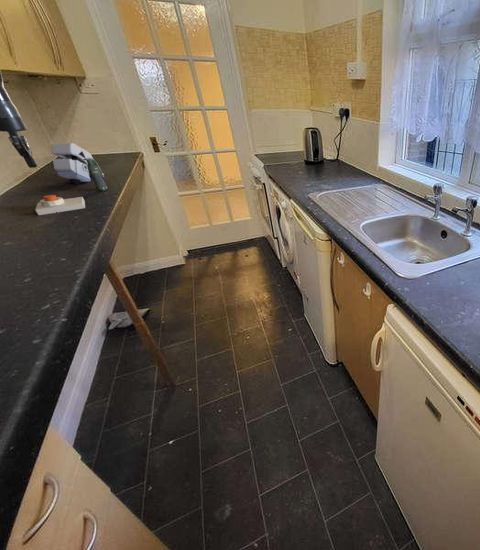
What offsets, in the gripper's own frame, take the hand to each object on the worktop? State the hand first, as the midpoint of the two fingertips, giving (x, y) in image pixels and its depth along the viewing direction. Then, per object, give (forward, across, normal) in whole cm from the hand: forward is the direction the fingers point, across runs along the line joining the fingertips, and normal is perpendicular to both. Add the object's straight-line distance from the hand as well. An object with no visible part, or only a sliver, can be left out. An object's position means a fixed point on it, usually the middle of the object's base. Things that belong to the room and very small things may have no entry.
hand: (33, 167), depth 112 cm
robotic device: (+17, -50, +9) cm, 53 cm away
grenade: (+17, -22, +16) cm, 32 cm away
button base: (+16, 0, +2) cm, 17 cm away
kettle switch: (+13, 0, 0) cm, 13 cm away
